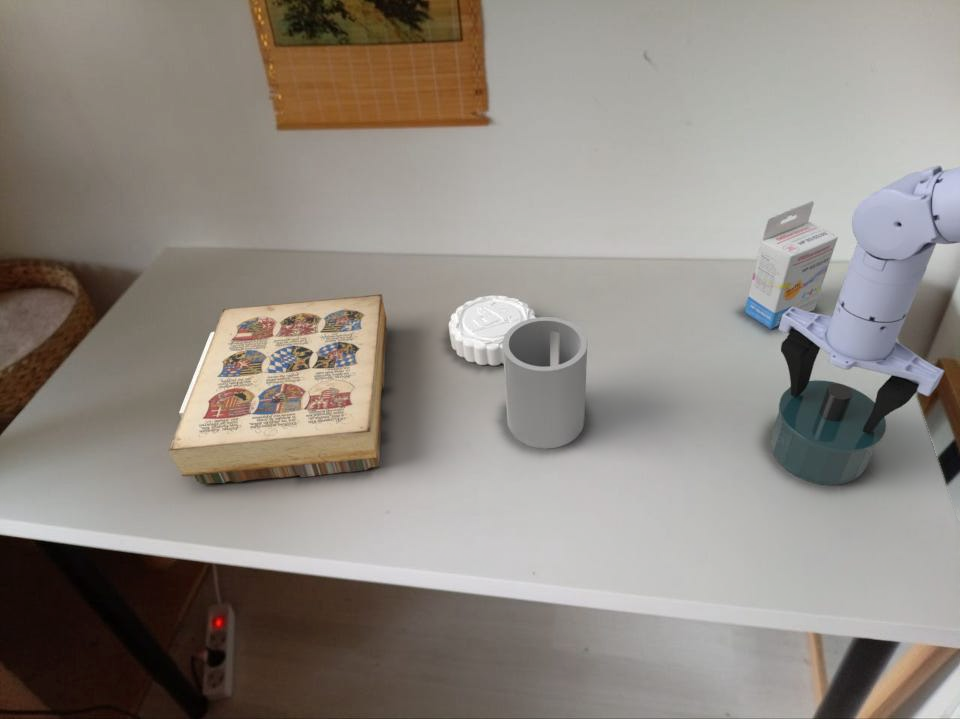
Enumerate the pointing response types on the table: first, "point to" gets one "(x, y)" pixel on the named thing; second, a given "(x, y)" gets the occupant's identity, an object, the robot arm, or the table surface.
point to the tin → (816, 459)
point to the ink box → (789, 266)
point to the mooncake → (485, 327)
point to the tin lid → (831, 417)
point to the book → (286, 392)
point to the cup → (545, 382)
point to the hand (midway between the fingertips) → (833, 409)
